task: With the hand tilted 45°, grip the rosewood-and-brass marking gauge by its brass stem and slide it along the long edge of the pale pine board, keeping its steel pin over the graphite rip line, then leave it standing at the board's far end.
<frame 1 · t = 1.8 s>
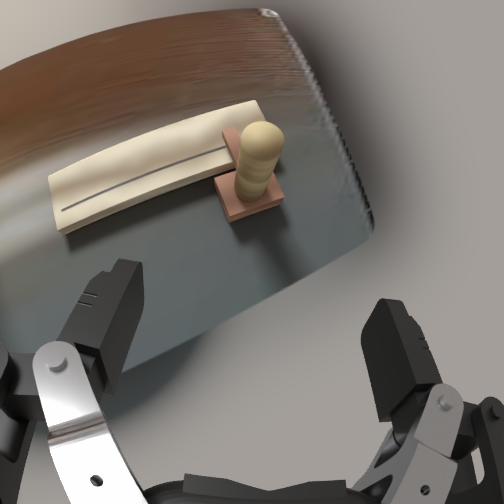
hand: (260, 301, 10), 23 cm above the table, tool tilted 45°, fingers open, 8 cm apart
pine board: (158, 165, 34), on the table
marking gauge: (247, 195, 35), on the table
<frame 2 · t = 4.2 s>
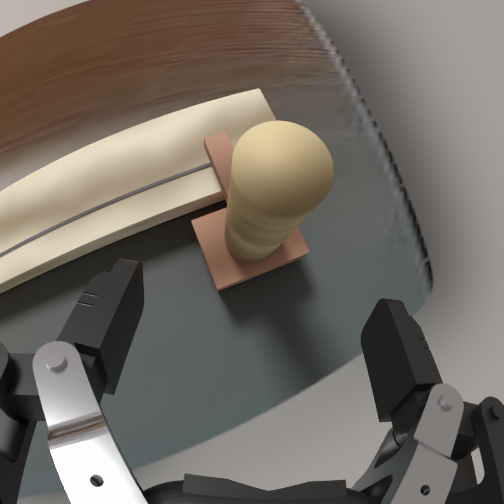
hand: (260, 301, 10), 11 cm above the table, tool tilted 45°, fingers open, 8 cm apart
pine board: (108, 195, 21), on the table
marking gauge: (247, 244, 22), on the table
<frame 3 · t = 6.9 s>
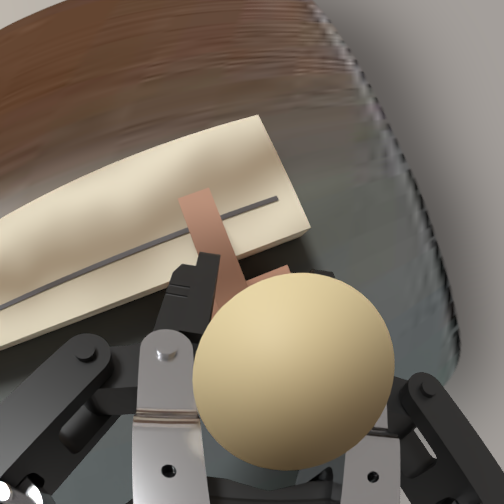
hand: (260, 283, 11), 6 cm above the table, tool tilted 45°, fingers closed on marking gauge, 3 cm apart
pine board: (68, 260, 16), on the table
marking gauge: (241, 329, 17), on the table, touching gripper
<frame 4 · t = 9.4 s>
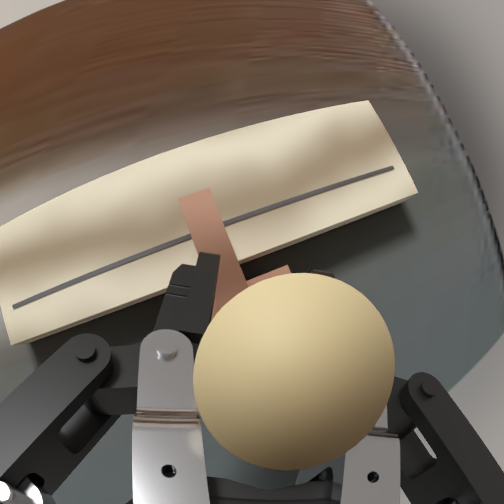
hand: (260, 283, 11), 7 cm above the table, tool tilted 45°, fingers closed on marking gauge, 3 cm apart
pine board: (196, 215, 18), on the table
marking gauge: (241, 330, 17), point 1 cm above the table, touching gripper
when the fingers open (6 cm above the table, at t = 12.1 s): marking gauge stays where it is, on the table.
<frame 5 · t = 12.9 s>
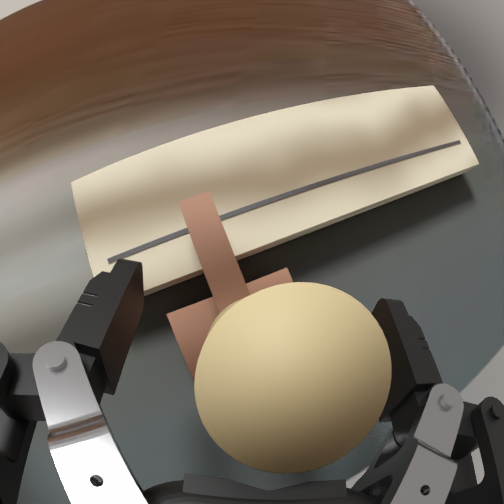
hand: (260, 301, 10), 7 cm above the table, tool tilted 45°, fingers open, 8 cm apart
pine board: (306, 172, 19), on the table
marking gauge: (241, 331, 17), on the table
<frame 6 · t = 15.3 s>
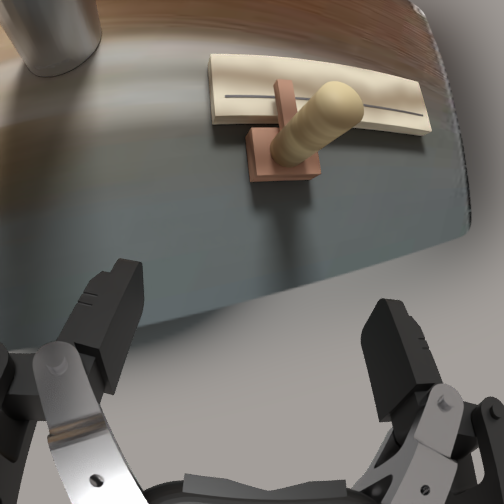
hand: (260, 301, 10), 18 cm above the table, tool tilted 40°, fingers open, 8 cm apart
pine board: (330, 97, 31), on the table
marking gauge: (278, 158, 30), on the table
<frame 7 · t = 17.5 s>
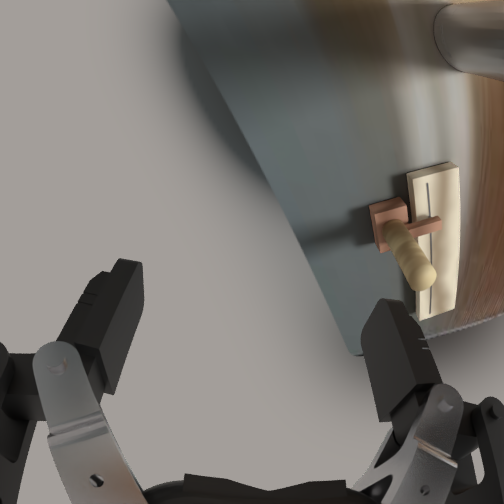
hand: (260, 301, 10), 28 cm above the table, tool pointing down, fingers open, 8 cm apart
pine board: (434, 247, 42), on the table
marking gauge: (387, 220, 40), on the table
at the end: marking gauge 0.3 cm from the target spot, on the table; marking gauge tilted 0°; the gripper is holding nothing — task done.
